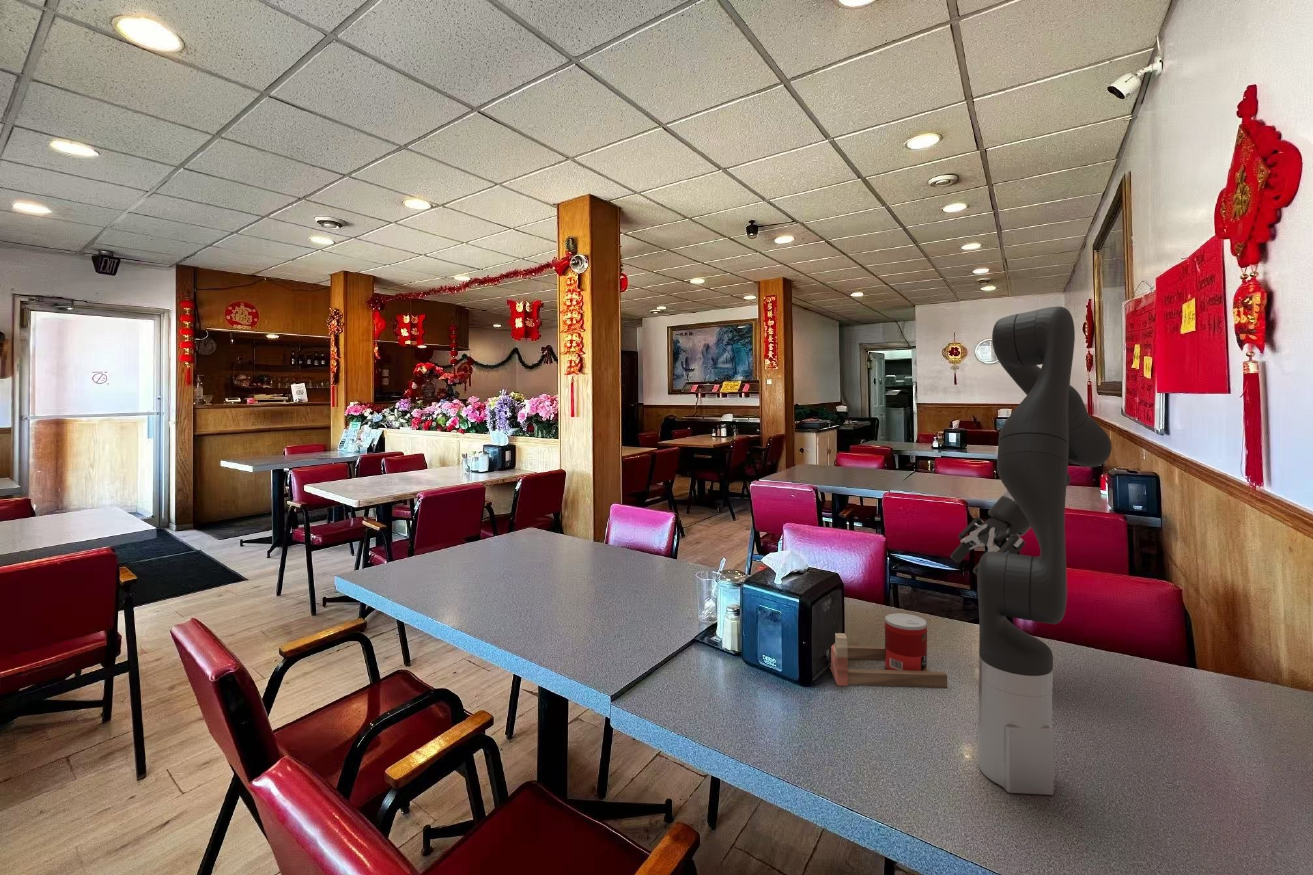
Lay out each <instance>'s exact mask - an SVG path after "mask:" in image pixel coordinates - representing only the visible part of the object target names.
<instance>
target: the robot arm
mask: <svg viewBox="0 0 1313 875" xmlns="http://www.w3.org/2000/svg"><path fill="white" fill-rule="evenodd" d="M1073 318H1074V317H1073V315H1072V314H1071V312H1070V310H1068V309H1067V308H1066V307H1064V306H1051V307H1045V308H1040V309H1035V310H1031V311H1026V312H1021V313H1016V314H1015V313H1014V314H1011V315H1007V316H1005V317H1001V318H1000V319H998V320H997V321H996V322H995V324H994V325H993V329H992V333H991V343H992V348H993V352H994V354H995V357H996V359H997V361H998V362H999V364H1000V365H1001V367H1002V368H1003V369H1004V370H1005V371H1006V373H1007V374H1008V376H1010V378H1011V379H1012V380H1013V381H1014V382H1015V384H1016V385H1017V386H1018V387H1019V388H1020V389H1021V390H1022V391H1023V393H1024V394H1026V396H1025V397H1024V398H1023V399H1022V401H1021V402H1020V403H1018V405H1017V406H1016V407H1015V409H1014V410H1013V411H1012V412H1011V414H1009V416H1008V418H1007V419H1006V420H1005V422H1004V423H1003V425H1002V427H1001V429H1000V430H999V435H998V444H997V445H998V446H997V456H996V457H997V459H996V471H997V474H998V477H999V479H1000V481H1001V482H1002V485H1003V486H1004V487H1005V489H1006V491H1005V492H1004V493H1003V494H1002V495H1001V496H1000V497H999V498H998V499H997V500H996V501H995V503H994V504H993V505H992V506H991V507H990V509H989V510H988V511H987V512H988V513H987V514H988V515H989V518H988V519H987V520H986V521H983V519H981V518H980V517H979V516H976V517H975V518H973V519H972V520H971V522H970V523H969V524H968V525H967V526H966V527H965V528H964V529H963V530H962V531H961V532H960V533H959V534H958V536H957V537H958V538H959V540H960V544H959V545H958V546H957V547H956V548H955V549H954V551H952V553H951V554H950V555H949V556H950V559H951V560H954V561H955V563H958V564H959V563H961V562H962V561H963V560H964V559H965V558H966V557H967V555H969V553H971V551H972V550H973V549H975V548H977V547H981V548H982V547H985V546H986V547H987V552H985V553H983V554H982V555H981V557H980V560H978V561H979V562H978V563H977V564H976V565H975V566H974V567H973V569H972V572H973V573H974V574H975V575H976V576H977V578H976V579H977V583H976V584H977V600H978V602H977V603H978V616H979V617H978V619H979V623H978V624H979V629H978V630H979V631H978V632H979V633H978V634H979V635H978V636H979V638H978V639H979V640H978V641H979V642H978V644H979V645H978V646H979V648H978V649H979V650H978V653H979V656H978V716H977V717H978V719H977V720H978V722H977V723H978V725H977V726H978V727H977V730H978V731H977V732H978V733H977V734H978V735H977V737H978V738H977V739H978V743H977V744H978V745H977V746H978V747H977V748H978V750H977V751H978V752H977V754H978V755H977V756H978V758H977V759H978V764H977V765H978V768H979V770H980V771H981V772H982V774H983V775H984V776H985V777H986V778H987V779H989V780H990V781H992V782H993V783H995V784H998V785H999V786H1001V787H1002V788H1004V790H1005V791H1006V792H1007V793H1008V794H1009V793H1011V794H1029V795H1030V794H1031V795H1049V796H1053V795H1054V777H1055V776H1054V775H1055V774H1054V773H1055V772H1054V771H1055V770H1054V769H1055V764H1054V763H1055V730H1054V729H1053V679H1054V678H1053V677H1054V676H1053V675H1054V674H1053V673H1054V672H1053V671H1054V656H1053V652H1052V649H1051V647H1049V646H1048V645H1047V644H1046V643H1045V642H1044V641H1042V640H1041V639H1039V638H1037V637H1035V636H1033V635H1031V634H1029V633H1027V632H1025V631H1023V630H1022V629H1020V628H1018V627H1017V626H1016V625H1014V624H1013V623H1012V622H1011V621H1010V620H1009V619H1008V618H1007V617H1009V618H1013V619H1018V620H1025V621H1029V622H1030V621H1031V622H1037V623H1041V624H1042V623H1043V624H1049V625H1058V624H1059V623H1060V622H1062V621H1063V619H1064V616H1065V615H1066V610H1067V609H1066V608H1067V601H1068V580H1067V579H1068V578H1067V575H1068V574H1067V553H1066V549H1067V548H1066V530H1065V529H1066V525H1065V523H1066V521H1065V520H1066V518H1065V517H1066V514H1065V513H1066V497H1067V487H1068V486H1069V484H1070V483H1071V481H1072V480H1071V479H1072V478H1071V475H1070V474H1069V472H1068V470H1069V462H1071V463H1073V464H1076V465H1078V466H1081V467H1083V468H1096V467H1100V466H1101V465H1103V464H1104V463H1105V462H1107V461H1108V459H1109V458H1110V456H1111V453H1112V442H1111V438H1110V437H1109V435H1108V433H1107V431H1105V430H1104V428H1102V427H1101V425H1100V424H1099V423H1098V422H1097V421H1096V420H1095V419H1094V418H1093V417H1092V416H1091V415H1090V414H1089V412H1088V410H1087V407H1086V404H1085V402H1084V400H1083V397H1082V396H1081V394H1080V393H1079V392H1078V390H1076V388H1075V387H1074V386H1072V385H1071V376H1072V369H1073V368H1072V367H1073V360H1074V352H1075V350H1074V349H1075V343H1076V342H1075V339H1076V338H1075V336H1076V332H1075V330H1076V329H1075V324H1074V323H1075V322H1074V319H1073ZM1040 365H1041V367H1040ZM1029 530H1032V531H1033V533H1034V535H1035V537H1036V540H1037V543H1038V546H1039V550H1040V552H1039V553H1040V554H1039V556H1035V555H1034V556H1033V555H1026V554H1019V552H1020V551H1021V550H1022V549H1023V548H1024V547H1025V545H1026V541H1025V540H1024V539H1023V538H1022V536H1024V535H1025V534H1026V533H1027V532H1029ZM968 534H969V535H968Z"/></svg>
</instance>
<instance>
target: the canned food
mask: <svg viewBox="0 0 1313 875" xmlns="http://www.w3.org/2000/svg"><path fill="white" fill-rule="evenodd" d="M884 646H885V660H884V664H885V668H886V669H885V670H907V671H928V624H927V621H926V619H924V618H922V617H920V616H917V615H916V614H915V615H914V614H910V613H902V612H901V613H900V612H899V613H890V614H887V615H886V616H885V617H884Z"/></svg>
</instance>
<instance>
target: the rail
mask: <svg viewBox="0 0 1313 875" xmlns="http://www.w3.org/2000/svg"><path fill="white" fill-rule="evenodd" d="M849 660H865V661H866V660H873V661H885V645H863V644H861V645H859V644H857V645H856V644H852V645H851V644H848V637H847V635H846V634H845V632H844V633H841V632H838V633H837V632H836V633H835V643H834V644H833V645H832V646H831V667H829V668H830V671H831V674H832V676H833V678H834V681H835V682H836V684H837V686H842V687H843V686H844V687H845V686H847V687H848V686H849V685H852V686H856V685H857V686H883V687H884V686H885V687H886V686H888V687H916V688H917V687H918V688H946V689H947V688H948V674H947V673H946V672H945V671H942V670H941V671H938V670H934V671H933V670H927V671H907V670H887V669H871V668H869V669H865V668H849Z"/></svg>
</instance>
